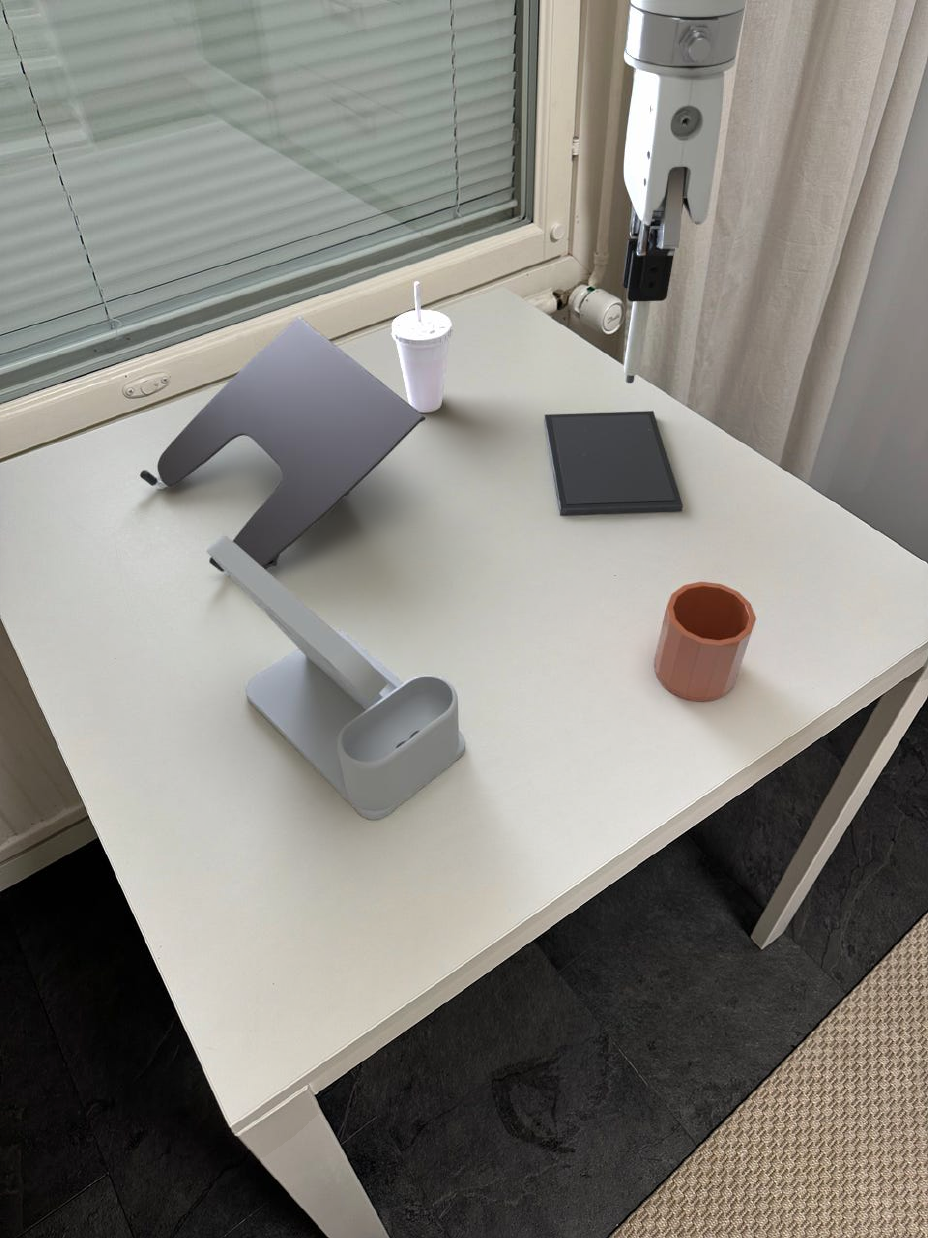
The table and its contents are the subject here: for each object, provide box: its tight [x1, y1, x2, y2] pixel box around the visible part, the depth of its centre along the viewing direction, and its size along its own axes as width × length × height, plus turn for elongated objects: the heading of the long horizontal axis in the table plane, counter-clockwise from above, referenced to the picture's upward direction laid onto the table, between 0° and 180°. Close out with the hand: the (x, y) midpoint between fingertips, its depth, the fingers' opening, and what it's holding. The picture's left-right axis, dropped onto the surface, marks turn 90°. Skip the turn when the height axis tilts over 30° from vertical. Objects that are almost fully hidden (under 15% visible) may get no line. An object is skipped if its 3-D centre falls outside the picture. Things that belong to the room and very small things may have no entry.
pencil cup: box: [654, 581, 757, 702], centre depth 71 cm, size 7×7×7 cm
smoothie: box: [391, 281, 453, 414], centre depth 95 cm, size 6×6×14 cm
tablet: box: [543, 410, 684, 516], centre depth 92 cm, size 12×16×1 cm
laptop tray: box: [139, 316, 426, 575], centre depth 88 cm, size 23×23×9 cm
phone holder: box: [206, 533, 466, 821], centre depth 64 cm, size 17×10×18 cm, turn 43°
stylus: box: [623, 226, 660, 384], centre depth 75 cm, size 1×1×14 cm
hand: (643, 291), depth 74 cm, fingers closed on stylus, 1 cm apart
